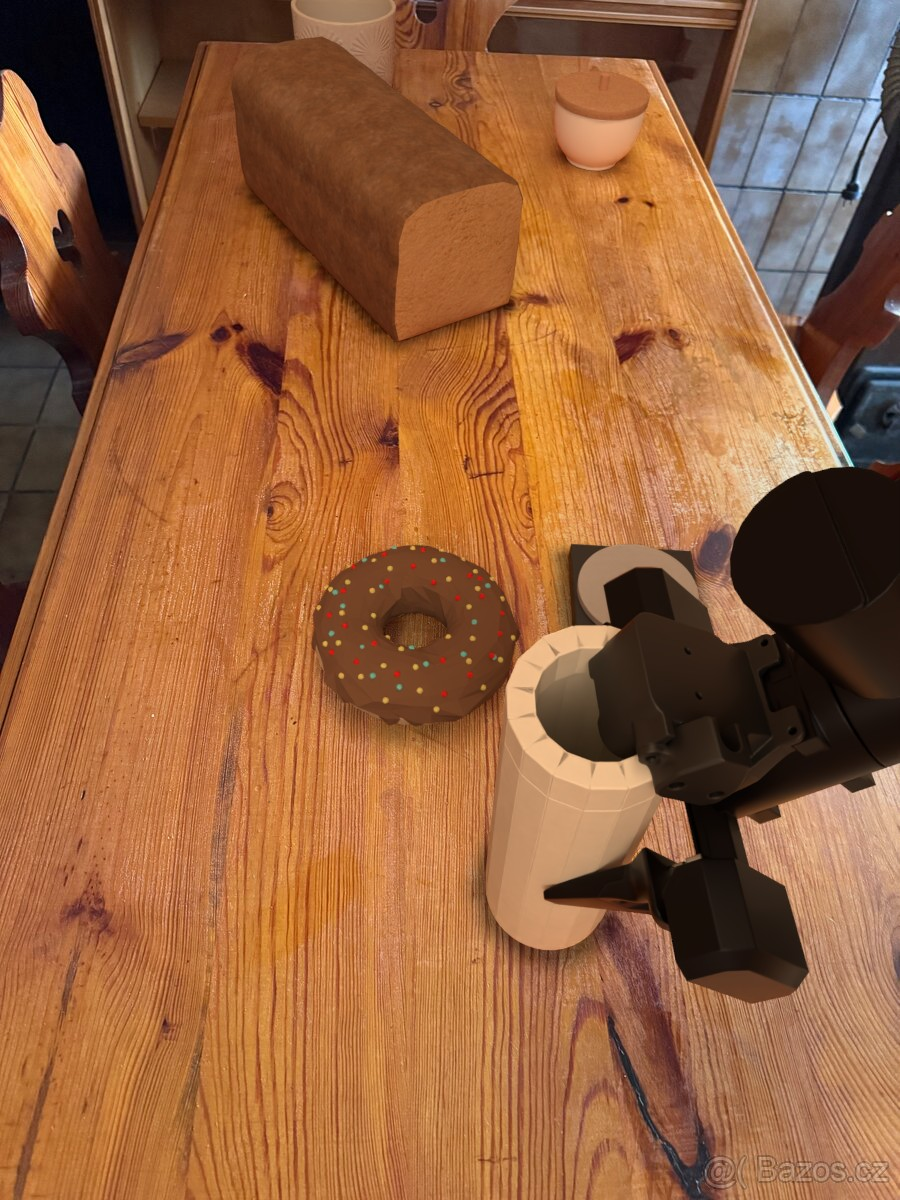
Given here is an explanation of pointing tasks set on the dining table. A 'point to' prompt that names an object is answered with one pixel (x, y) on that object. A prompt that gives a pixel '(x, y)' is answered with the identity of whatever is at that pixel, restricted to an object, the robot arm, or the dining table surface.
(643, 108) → the trinket box
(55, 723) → the dining table surface
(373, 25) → the planter
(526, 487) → the dining table surface
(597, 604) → the scale
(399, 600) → the donut
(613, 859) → the canister
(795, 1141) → the dining table surface
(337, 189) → the bread
